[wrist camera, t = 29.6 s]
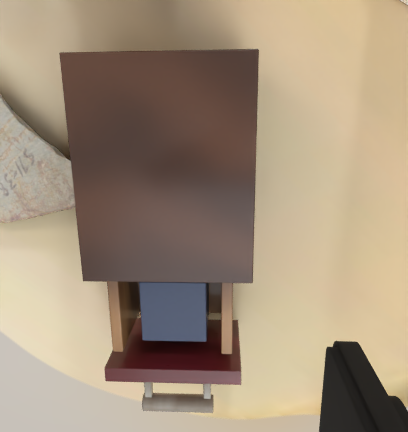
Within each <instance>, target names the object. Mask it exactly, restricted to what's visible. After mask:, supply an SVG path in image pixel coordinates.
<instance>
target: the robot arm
mask: <svg viewBox="0 0 408 432" xmlns="http://www.w3.org/2000/svg"><path fill="white" fill-rule="evenodd" d="M400 1H401V2H403V3H405V4H407V5H408V0H400ZM319 432H408V411H407V409H406V407H405V406H404V404H403V403H402V401H401V400H400V399H399V398H398V397H396V396H388V394H387V393H386V391H385V389H384V387H383V385H382V384H381V382H380V380H379V378H378V377H377V375H376V373H375V371H374V370H373V368H372V366H371V364H370V363H369V361H368V359H367V357H366V355H365V354H364V352H363V350H362V348H361V347H360V345H359V343H358V342H344V341H335V342H334V344H333V347H327V349H326V357H325V369H324V380H323V392H322V403H321V415H320V427H319Z"/></svg>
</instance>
